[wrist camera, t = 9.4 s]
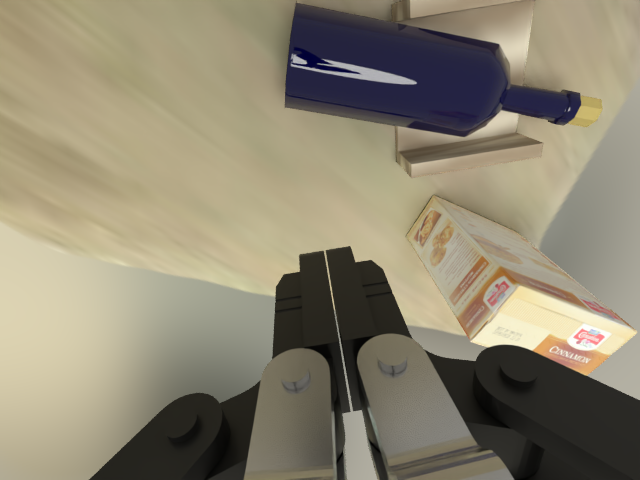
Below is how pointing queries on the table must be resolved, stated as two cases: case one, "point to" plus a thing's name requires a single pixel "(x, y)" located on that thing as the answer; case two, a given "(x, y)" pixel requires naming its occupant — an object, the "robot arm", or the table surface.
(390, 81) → the bottle
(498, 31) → the u rest
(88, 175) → the table surface
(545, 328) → the coffeecake box
